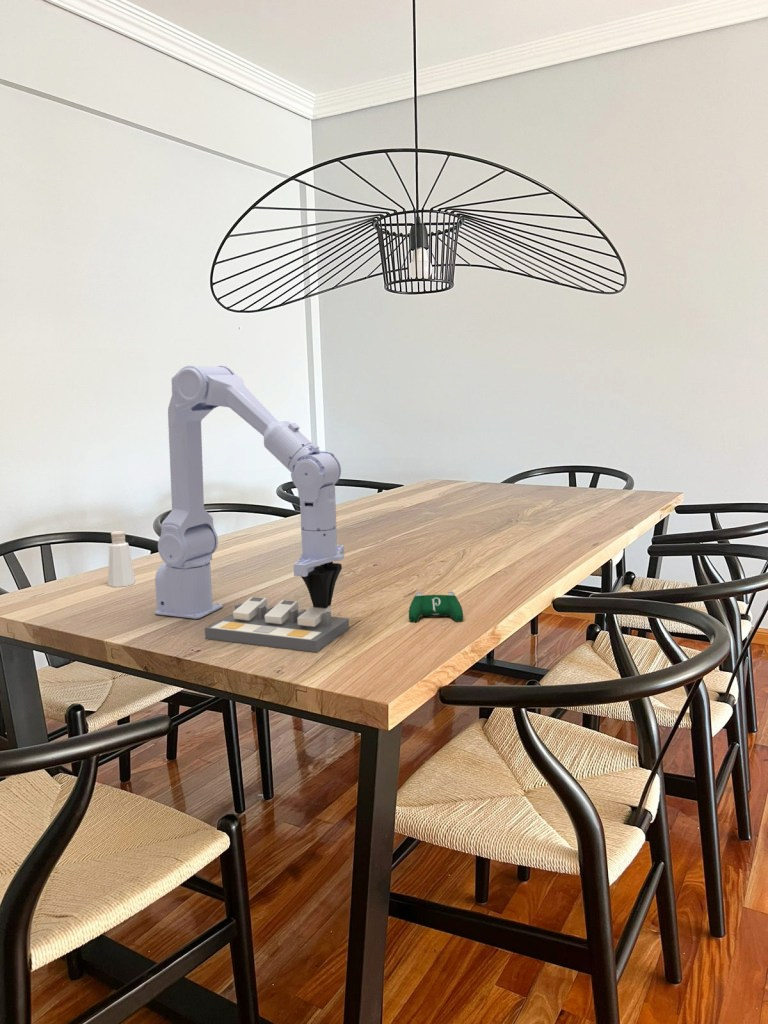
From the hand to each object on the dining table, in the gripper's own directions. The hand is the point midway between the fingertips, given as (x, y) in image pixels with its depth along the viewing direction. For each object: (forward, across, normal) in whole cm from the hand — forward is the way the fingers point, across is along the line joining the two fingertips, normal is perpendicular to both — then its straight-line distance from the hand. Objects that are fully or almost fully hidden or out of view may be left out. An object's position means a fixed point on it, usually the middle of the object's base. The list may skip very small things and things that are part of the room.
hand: (322, 608), depth 130 cm
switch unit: (+4, -4, +6) cm, 8 cm away
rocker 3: (0, -3, 0) cm, 3 cm away
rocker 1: (0, -3, +12) cm, 12 cm away
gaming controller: (+4, +12, -16) cm, 20 cm away
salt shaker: (+4, +14, +53) cm, 55 cm away
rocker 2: (0, -3, +6) cm, 7 cm away
